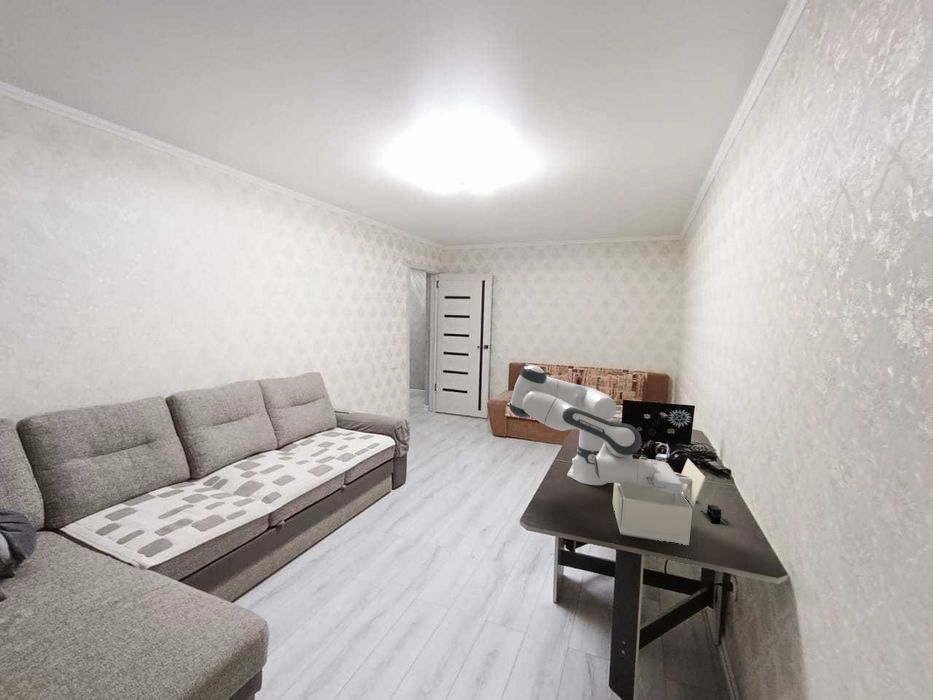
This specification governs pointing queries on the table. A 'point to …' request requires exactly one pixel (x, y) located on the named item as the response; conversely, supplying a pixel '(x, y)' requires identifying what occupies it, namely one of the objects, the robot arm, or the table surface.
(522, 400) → the robot arm
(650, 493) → the carton
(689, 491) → the carton flap
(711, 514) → the black angular piece
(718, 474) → the table surface
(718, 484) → the table surface
